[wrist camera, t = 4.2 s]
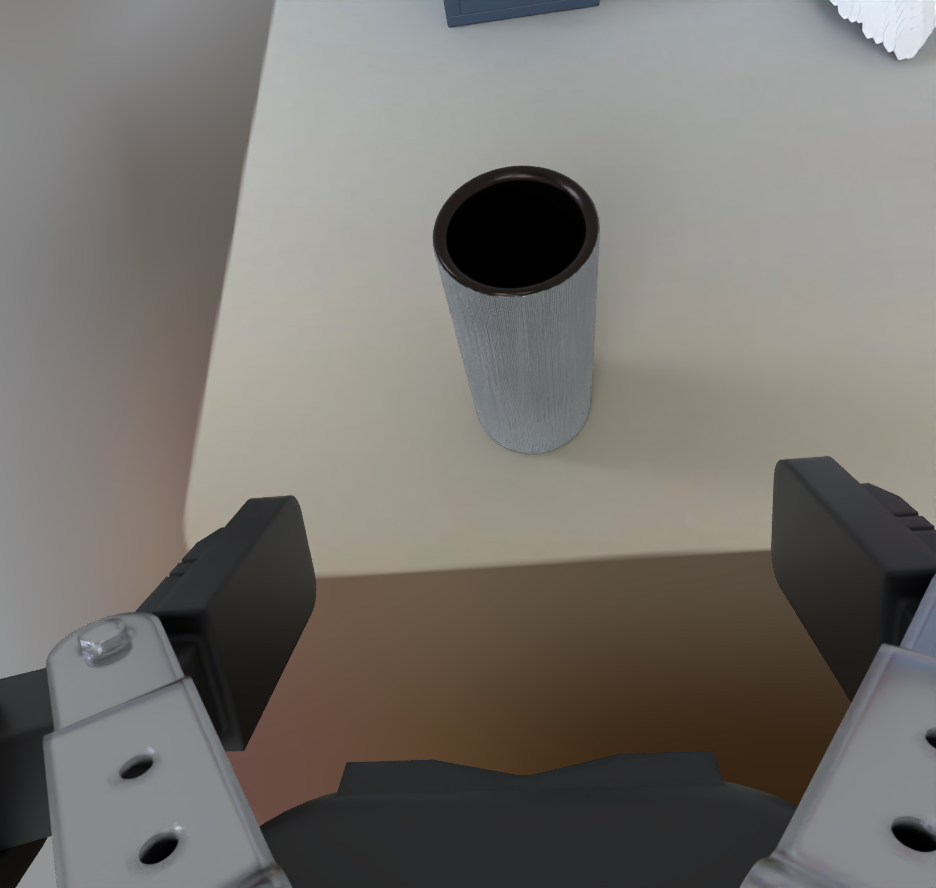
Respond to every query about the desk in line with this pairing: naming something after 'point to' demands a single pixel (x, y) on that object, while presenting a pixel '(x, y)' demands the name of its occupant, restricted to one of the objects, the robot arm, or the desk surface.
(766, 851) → the robot arm
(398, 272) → the desk surface
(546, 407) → the planter
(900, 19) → the pincushion
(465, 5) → the sorter
